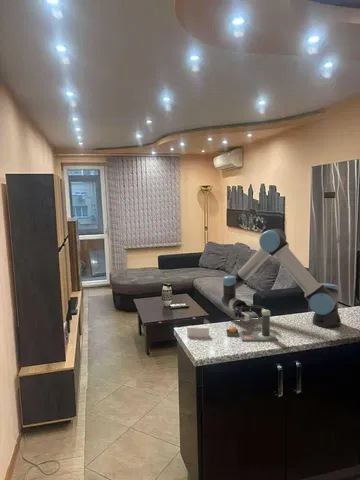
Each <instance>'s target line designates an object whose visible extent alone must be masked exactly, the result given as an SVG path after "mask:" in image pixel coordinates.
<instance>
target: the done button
mask: <svg viewBox="0 0 360 480" xmlns="http://www.w3.org/2000/svg"><path fill="white" fill-rule="evenodd" d="M228 329H229V332H228V333H237V332H236V329H237V327H235V326H229V327H228Z"/></svg>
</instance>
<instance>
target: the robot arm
mask: <svg viewBox="0 0 360 480" xmlns="http://www.w3.org/2000/svg"><path fill="white" fill-rule="evenodd" d="M258 240H259V241H258V243H259V246H260V248H258V250H257V251H256V252H254V254H253V255H252V256H251V257H250V258H249V260H247V262H246V263H245V264H244V265H243V266H242V267H241V268H240V269H239V270H238V271H237V272H236V274H235V275H225V276H224V277H223V279H222V280H223V282H222V284H223V285H222V286H223V290H222V291H223V294H222V295H221V297H220V303H221V305H223V306H224V307H226V308H229V309H230V310H232V312H233V314H234V317H235V318H237V317H238V319H241V318H242V319H244V320H247V321H250V315H249V314H247V313H253V312H254V313H261V314H262V310H267V307H266V306H260V305H256V304H253V303H252V304H250V305H248V304H247V303H246V302H245V301H244V300H242V299H241V298H237V297H236V296H237V295H236V291H237V289H238V288H240V287H243V286H244V284H245V283H246V282H247V281H248V279H249V278H250V277H251V276H252V275H253V274H254V273H255V272H256V271H257V270H258V269H259V268H260V267H261V265H262V264H263V263H264V262H266V261H267V259H268V258H269V257H270V256H271V257H272V258H276V259H277V261H279V263H280V265H282V266H283V268H284V269H285V270H286V271H287V273H288V274H289V275H290V276H291V277H292V280H294V281H295V282H296V284H297V285H298V286H299V288H301V289H302V291H303V292H304V298H305V299H306V300H307V302H308V303H309V307H310V310H311V311H313V312H314V314H313V315H312V319H311V320H312V321H311V322H312V324H314V325H315V326H317V327H320V328H325V329H326V328H327V329H334V328H336V329H337V328H340V327H341V326H342V320H341V317H340V313H339V292H340V290H339V286H338V285H337V284H332V283H323V282H321V283H319V282H318V281H317V280H316V279H315V277H313V276H312V274H311V273H310V272H309V270H308V269H307V268H306V267H305V266H304V265H303V263H302V262H301V261H300V259H299V258H298V257H297V256H296V255H295V254H294V253H293V252H292V251H291V249H290V248H289V247H290V244H289V243H288V242H287V235H286V233H285V232H284V230H282V229H280V228H273V229H267V230H266V231H264V232H263V233H261V234H260V236H259V239H258Z"/></svg>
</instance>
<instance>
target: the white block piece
mask: <svg viewBox="0 0 360 480" xmlns="http://www.w3.org/2000/svg"><path fill="white" fill-rule="evenodd" d="M186 326H187V325H186ZM186 329H187V331H186V332H187V337H195V338H209V337H210V327H209V326H198V325H188V326H187V327H186Z"/></svg>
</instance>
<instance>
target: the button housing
mask: <svg viewBox="0 0 360 480" xmlns="http://www.w3.org/2000/svg"><path fill="white" fill-rule="evenodd" d="M226 336H227V337H239V336H240V332H239V329H237V328H236V333H229V328H227V329H226Z"/></svg>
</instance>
